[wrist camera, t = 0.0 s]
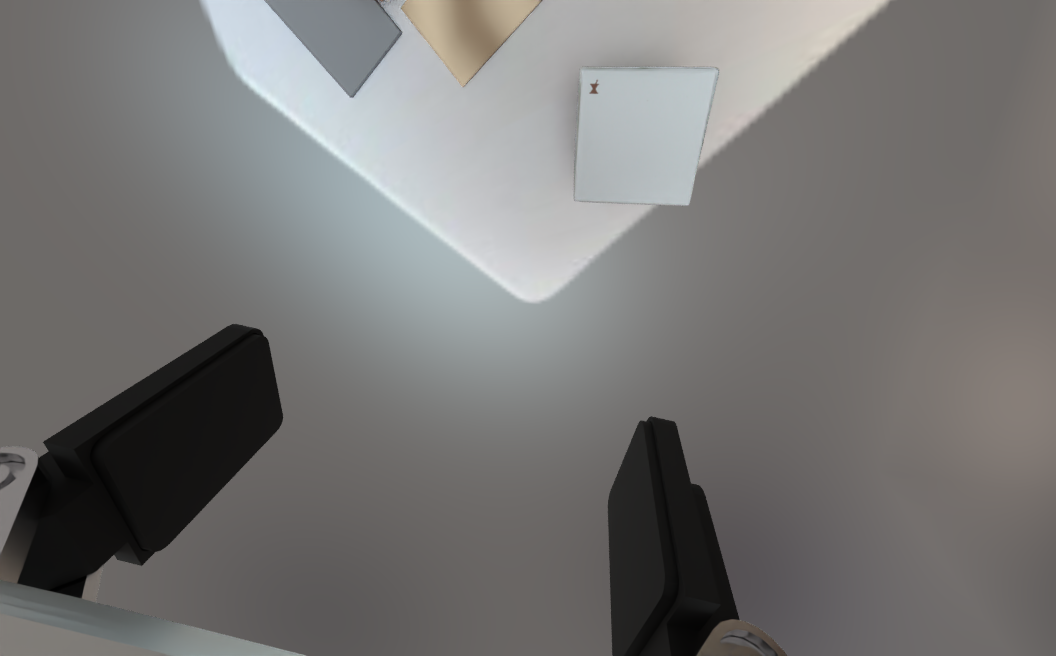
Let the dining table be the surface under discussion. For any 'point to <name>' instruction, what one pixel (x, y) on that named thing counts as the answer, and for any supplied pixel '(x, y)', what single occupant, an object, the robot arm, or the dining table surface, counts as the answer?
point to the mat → (341, 35)
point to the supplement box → (640, 133)
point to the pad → (467, 29)
